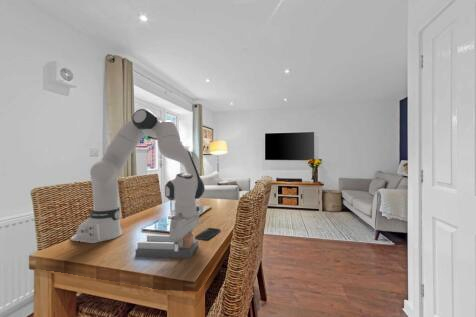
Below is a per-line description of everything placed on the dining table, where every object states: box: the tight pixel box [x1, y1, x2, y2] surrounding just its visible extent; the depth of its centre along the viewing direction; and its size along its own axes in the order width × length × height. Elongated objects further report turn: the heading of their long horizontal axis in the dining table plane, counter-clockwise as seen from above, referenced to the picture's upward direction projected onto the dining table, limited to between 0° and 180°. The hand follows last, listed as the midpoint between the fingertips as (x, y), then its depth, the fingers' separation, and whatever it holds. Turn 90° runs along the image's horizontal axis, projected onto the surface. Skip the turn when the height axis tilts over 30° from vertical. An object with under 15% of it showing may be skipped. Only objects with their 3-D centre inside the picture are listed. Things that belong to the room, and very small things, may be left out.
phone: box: [194, 227, 221, 242], centre depth 111 cm, size 8×1×15 cm
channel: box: [135, 234, 199, 259], centre depth 92 cm, size 23×12×5 cm, turn 86°
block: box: [178, 233, 194, 248], centre depth 91 cm, size 5×5×4 cm
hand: (185, 242), depth 91 cm, fingers closed on block, 5 cm apart
